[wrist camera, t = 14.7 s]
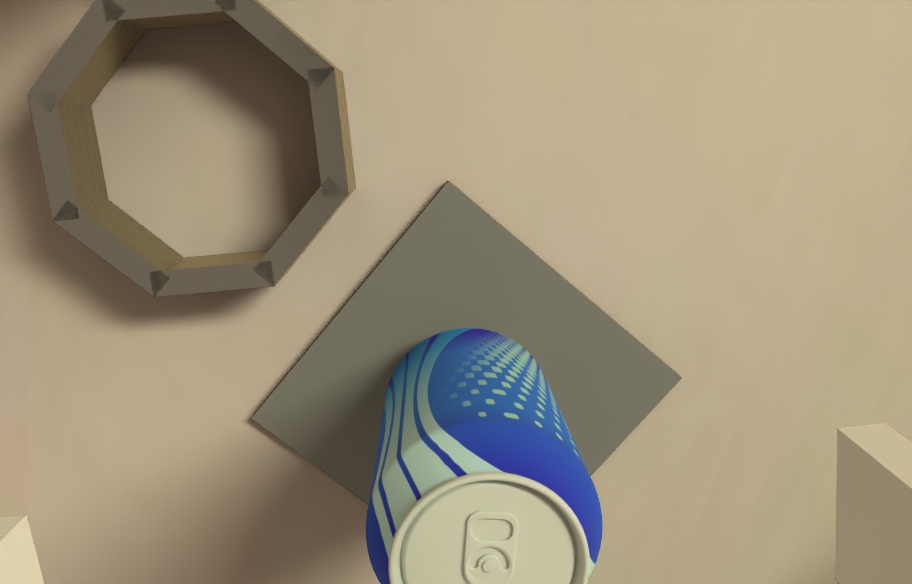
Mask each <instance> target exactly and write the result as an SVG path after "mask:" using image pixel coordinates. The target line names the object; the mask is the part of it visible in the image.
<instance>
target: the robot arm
mask: <svg viewBox="0 0 912 584" xmlns="http://www.w3.org/2000/svg"><path fill="white" fill-rule="evenodd" d="M836 580H837V581H838V582H839V584H912V442H910V441H909V440H907V439H906V438H905V437H903V436H902V435H900V434H899V433H898V432H896V431H895V430H893V429H892V428H891V427H889V426H888V425H887V424H885V423H882V424H872V425H863V426H854V427H845V428H837V499H836ZM0 584H44V582H43V578H42V574H41V570H40V566H39V563H38V559H37V555H36V551H35V547H34V543H33V539H32V536H31V532H30V528H29V524H28V520H27V516H26V515H25V516H16V517H6V518H0Z"/></svg>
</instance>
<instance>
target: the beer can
mask: <svg viewBox="0 0 912 584" xmlns="http://www.w3.org/2000/svg"><path fill="white" fill-rule="evenodd" d="M601 539H602V514H601V507H600V503H599V499H598V495H597V492H596V489H595V487H594V484H593V482H592V479H591V477H590V475H589V473H588V471H587V468H586V466H585V464H584V462H583V460H582V457H581V455H580V453H579V451H578V449H577V446H576V444H575V442H574V440H573V438H572V435H571V433H570V431H569V429H568V426H567V424H566V422H565V420H564V418H563V415H562V413H561V411H560V409H559V407H558V404H557V402H556V400H555V398H554V396H553V393H552V391H551V389H550V387H549V385H548V382H547V380H546V378H545V376H544V374H543V372H542V370H541V368H540V366H539V365H538V363H537V362H536V360H535V359H534V358H533V357H532V355H531V354H530V353H529V352H528V351H527V350H526V349H525V348H523V347H522V346H521V345H520V344H518V343H517V342H515V341H514V340H512V339H510V338H508V337H507V336H505V335H502V334H500V333H497V332H494V331H491V330H486V329H480V328H457V329H451V330H447V331H443V332H440V333H438V334H435V335H433V336H431V337H429V338H427V339H425V340H423V341H422V342H420V343H419V344H417V345H416V346H415V347H414V348H412V349H411V350H410V351H409V352H408V353H407V354H406V355H405V356H404V358H403V359H402V360H401V361H400V363H399V364H398V365H397V367H396V369H395V370H394V372H393V374H392V376H391V379H390V381H389V384H388V387H387V391H386V396H385V402H384V409H383V415H382V421H381V428H380V434H379V441H378V447H377V453H376V460H375V466H374V473H373V479H372V485H371V492H370V498H369V505H368V511H367V519H366V540H367V549H368V553H369V558H370V561H371V564H372V567H373V570H374V572H375V574H376V576H377V578H378V580H379V582H380V583H381V584H587V581H588V579H589V577H590V575H591V573H592V571H593V568H594V566H595V563H596V561H597V557H598V554H599V550H600V545H601Z"/></svg>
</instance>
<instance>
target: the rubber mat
mask: <svg viewBox="0 0 912 584" xmlns="http://www.w3.org/2000/svg"><path fill="white" fill-rule="evenodd" d="M457 328H480V329H486V330H491V331H494V332H497V333H500V334H502V335H505V336H507V337H508V338H510V339H512V340H514V341H515V342H517V343H518V344H520V345H521V346H522V347H523V348H525V349H526V350H527V351H528V352H529V353H530V354H531V355H532V357H533V358H534V359H535V360H536V362H537V363H538V365H539V366H540V368H541V370H542V372H543V374H544V376H545V378H546V380H547V382H548V385H549V387H550V389H551V391H552V393H553V396H554V398H555V400H556V402H557V404H558V407H559V409H560V411H561V413H562V415H563V418H564V420H565V422H566V424H567V426H568V429H569V431H570V433H571V435H572V438H573V440H574V442H575V444H576V446H577V449H578V451H579V453H580V455H581V457H582V460H583V462H584V464H585V466H586V468H587V471H588V473H589V475H590V476H591V475H592V474H593V473H594V472H595V471H596V470H597V469H598V468H599V467H600V466H601V465H602V464H603V462H604V461H605V460H606V459H607V458H608V457H609V456H610V455H611V454H612V453H613V452H614V451H615V450H616V448H617V447H618V446H619V445H620V444H621V443H622V442H623V441H624V440H625V439H626V438H627V437H628V436H629V434H630V433H631V432H632V431H633V430H634V429H635V428H636V427H637V426H638V425H639V424H640V423H641V422H642V420H643V419H644V418H645V417H646V416H647V415H648V414H649V413H650V412H651V411H652V410H653V409H654V408H655V406H656V405H657V404H658V403H659V402H660V401H661V400H662V399H663V398H664V397H665V396H666V395H667V394H668V392H669V391H670V390H671V389H672V388H673V387H674V386H675V385H676V384H677V383H678V382H679V381H680V380H681V377H680V376H679V375H678V374H677V373H676V372H675V371H674V370H672V369H671V368H670V367H669V366H668V365H666V364H665V363H664V362H663V361H662V360H661V359H659V358H658V357H657V356H656V355H655V354H653V353H652V352H651V351H650V350H649V349H648V348H646V347H645V346H644V345H643V344H642V343H640V342H639V341H638V340H637V339H636V338H634V337H633V336H632V335H631V334H630V333H629V332H627V331H626V330H625V329H624V328H623V327H621V326H620V325H619V324H618V323H617V322H615V321H614V320H613V319H612V318H611V317H610V316H608V315H607V314H606V313H605V312H604V311H602V310H601V309H600V308H599V307H598V306H597V305H595V304H594V303H593V302H592V301H591V300H589V299H588V298H587V297H586V296H585V295H583V294H582V293H581V292H580V291H579V290H578V289H576V288H575V287H574V286H573V285H572V284H570V283H569V282H568V281H567V280H566V279H564V278H563V277H562V276H561V275H560V274H559V273H557V272H556V271H555V270H554V269H553V268H551V267H550V266H549V265H548V264H547V263H546V262H544V261H543V260H542V259H541V258H540V257H538V256H537V255H536V254H535V253H534V252H532V251H531V250H530V249H529V248H528V247H527V246H525V245H524V244H523V243H522V242H521V241H519V240H518V239H517V238H516V237H515V236H514V235H512V234H511V233H510V232H509V231H508V230H506V229H505V228H504V227H503V226H502V225H500V224H499V223H498V222H497V221H496V220H495V219H493V218H492V217H491V216H490V215H489V214H487V213H486V212H485V211H484V210H483V209H481V208H480V207H479V206H478V205H477V204H476V203H474V202H473V201H472V200H471V199H470V198H468V197H467V196H466V195H465V194H464V193H463V192H461V191H460V190H459V189H458V188H457V187H455V186H454V185H453V184H452V183H451V182H449V181H447V182H446V184H445V185H444V186H443V187H442V189H441V190H440V191H439V192H438V193H437V195H436V196H435V197H434V198H433V199H432V201H431V202H430V203H429V204H428V205H427V207H426V208H425V209H424V210H423V211H422V213H421V214H420V215H419V216H418V217H417V219H416V220H415V221H414V222H413V223H412V225H411V226H410V227H409V228H408V229H407V231H406V232H405V233H404V234H403V235H402V237H401V238H400V239H399V240H398V241H397V243H396V244H395V245H394V246H393V247H392V249H391V250H390V251H389V252H388V253H387V255H386V256H385V257H384V258H383V260H382V261H381V262H380V263H379V264H378V266H377V267H376V268H375V269H374V270H373V272H372V273H371V274H370V275H369V276H368V278H367V279H366V280H365V281H364V282H363V284H362V285H361V286H360V287H359V288H358V290H357V291H356V292H355V293H354V294H353V296H352V297H351V298H350V299H349V300H348V302H347V303H346V304H345V305H344V306H343V308H342V309H341V310H340V311H339V312H338V314H337V315H336V316H335V317H334V318H333V320H332V321H331V322H330V323H329V324H328V326H327V327H326V328H325V329H324V331H323V332H322V333H321V334H320V335H319V337H318V338H317V339H316V340H315V341H314V343H313V344H312V345H311V346H310V347H309V349H308V350H307V351H306V352H305V353H304V355H303V356H302V357H301V358H300V359H299V361H298V362H297V363H296V364H295V365H294V367H293V368H292V369H291V370H290V371H289V373H288V374H287V375H286V376H285V377H284V379H283V380H282V381H281V382H280V383H279V385H278V386H277V387H276V388H275V389H274V391H273V392H272V393H271V394H270V395H269V397H268V398H267V399H266V400H265V402H264V403H263V404H262V405H261V406H260V408H259V409H258V410H257V411H256V412H255V414H254V415H253V416H252V418H251V419H253V420H254V421H256V422H257V423H258V424H260V425H261V426H262V427H264V428H265V429H266V430H268V431H269V432H270V433H272V434H273V435H274V436H276V437H277V438H279V439H280V440H281V441H283V442H284V443H285V444H287V445H288V446H289V447H291V448H292V449H293V450H295V451H296V452H297V453H299V454H300V455H302V456H303V457H304V458H306V459H307V460H308V461H310V462H311V463H312V464H314V465H315V466H316V467H318V468H319V469H320V470H322V471H323V472H324V473H326V474H327V475H329V476H330V477H331V478H333V479H334V480H335V481H337V482H338V483H339V484H341V485H342V486H343V487H345V488H346V489H347V490H349V491H350V492H352V493H353V494H354V495H356V496H357V497H358V498H360V499H361V500H362V501H364V502H365V503H366V504H368V505H369V498H370V492H371V485H372V479H373V473H374V466H375V460H376V453H377V447H378V441H379V434H380V428H381V421H382V415H383V409H384V402H385V396H386V391H387V387H388V384H389V381H390V379H391V376H392V374H393V372H394V370H395V369H396V367H397V365H398V364H399V363H400V361H401V360H402V359H403V358H404V356H405V355H406V354H407V353H408V352H409V351H410V350H411V349H412V348H414V347H415V346H416V345H417V344H419V343H420V342H422V341H423V340H425V339H427V338H429V337H431V336H433V335H435V334H438V333H440V332H443V331H447V330H451V329H457Z"/></svg>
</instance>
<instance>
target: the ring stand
mask: <svg viewBox="0 0 912 584" xmlns="http://www.w3.org/2000/svg"><path fill="white" fill-rule="evenodd" d="M226 22H238V23H239V24H240V25H241V26H242V27H244V28H245V29H246V30H247V31H248V32H250V33H251V34H252V35H253V36H254V37H256V38H257V39H258V40H259V41H260V42H261V43H263V44H264V45H265V46H266V47H267V48H269V49H270V50H271V51H272V52H273V53H275V54H276V55H277V56H278V57H279V58H281V59H282V60H283V61H284V62H285V63H287V64H288V65H289V66H290V67H291V68H293V69H294V70H295V71H296V72H297V73H298V74H300V75H301V76H302V77H303V78H304V79H306V80H307V81H308V84H309V92H310V100H311V108H312V116H313V124H314V133H315V141H316V149H317V157H318V165H319V173H320V181H321V186H320V187H319V189H318V190H317V191H316V192H315V194H314V195H313V196H312V197H311V199H310V200H309V201H308V202H307V204H306V205H305V206H304V207H303V209H302V210H301V211H300V212H299V214H298V215H297V216H296V217H295V219H294V220H293V221H292V222H291V224H290V225H289V226H288V227H287V229H286V230H285V231H284V232H283V234H282V235H281V236H280V237H279V239H278V240H277V241H276V242H275V243H274V245H273V246H272V247H271V248H270V250H264V251H253V252H242V253H231V254H220V255H209V256H198V257H187V258H183V257H182V256H181V255H180V254H178V253H177V252H176V251H174V250H173V249H172V248H170V247H169V246H168V245H166V244H165V243H164V242H163V241H161V240H160V239H159V238H157V237H156V236H155V235H153V234H152V233H151V232H150V231H148V230H147V229H146V228H144V227H143V226H142V225H140V224H139V223H138V222H137V221H135V220H134V219H133V218H131V217H130V216H129V215H127V214H126V213H125V212H124V211H122V210H121V209H120V208H118V207H117V206H116V205H114V204H113V203H112V202H110V201H109V200H108V197H107V191H106V186H105V180H104V175H103V169H102V164H101V158H100V153H99V147H98V142H97V136H96V131H95V125H94V120H93V114H92V109H91V104H92V103H93V102H94V100H95V99H96V97H97V96H98V95H99V93H100V92H101V91H102V89H103V88H104V87H105V85H106V84H107V82H108V81H109V80H110V78H111V77H112V76H113V74H114V73H115V72H116V70H117V69H118V67H119V66H120V65H121V63H122V62H123V61H124V59H125V58H126V57H127V55H128V54H129V52H130V51H131V50H132V48H133V47H134V46H135V44H136V43H137V42H138V40H139V39H140V38H141V36H142V35H143V33H144V32H145V31H146V29H157V28H168V27H180V26H192V25H203V24H215V23H226ZM27 95H28V99H29V104H30V109H31V114H32V119H33V124H34V130H35V135H36V140H37V145H38V150H39V155H40V160H41V165H42V170H43V175H44V180H45V185H46V190H47V195H48V200H49V205H50V210H51V215H52V221H54V222H55V223H56V224H58V225H59V226H60V227H62V228H63V229H64V230H66V231H67V232H68V233H70V234H71V235H72V236H74V237H75V238H76V239H78V240H79V241H80V242H82V243H83V244H84V245H86V246H87V247H88V248H90V249H91V250H92V251H94V252H95V253H96V254H98V255H99V256H100V257H102V258H103V259H104V260H106V261H107V262H108V263H110V264H111V265H112V266H113V267H115V268H116V269H117V270H119V271H120V272H121V273H123V274H124V275H125V276H127V277H128V278H129V279H131V280H132V281H133V282H135V283H136V284H137V285H139V286H140V287H141V288H143V289H144V290H145V291H147V292H148V293H149V294H151V295H152V296H153V297H162V296H173V295H184V294H194V293H205V292H216V291H227V290H238V289H249V288H260V287H271V286H275V285H276V284H277V283H278V282H279V281H280V280H281V279H282V278H283V277H284V276H285V274H286V273H287V272H288V271H289V269H290V268H291V267H292V266H293V264H294V263H295V262H296V261H297V259H298V258H299V257H300V256H301V255H302V253H303V252H304V251H305V250H306V248H307V247H308V246H309V245H310V243H311V242H312V241H313V240H314V238H315V237H316V236H317V235H318V234H319V232H320V231H321V230H322V229H323V227H324V226H325V225H326V224H327V222H328V221H329V220H330V219H331V218H332V216H333V215H334V214H335V213H336V211H337V210H338V209H339V208H340V206H341V205H342V204H343V203H344V201H345V200H346V199H347V198H348V197H349V195H350V194H351V193H352V192H353V190H354V189H355V188H356V186H355V177H354V168H353V159H352V150H351V142H350V133H349V124H348V115H347V106H346V98H345V89H344V80H343V72H342V71H340V70H339V69H338V68H337V67H336V66H335V65H333V64H332V63H331V62H330V61H329V60H328V59H326V58H325V57H324V56H323V55H322V54H320V53H319V52H318V51H317V50H316V49H315V48H313V47H312V46H311V45H310V44H309V43H307V42H306V41H305V40H304V39H303V38H302V37H300V36H299V35H298V34H297V33H296V32H295V31H293V30H292V29H291V28H290V27H289V26H287V25H286V24H285V23H284V22H283V21H282V20H280V19H279V18H278V17H277V16H276V15H274V14H273V13H272V12H271V11H270V10H269V9H267V8H266V7H265V6H264V5H263V4H261V3H260V2H259V1H258V0H95V1H94V3H93V4H92V5H91V7H90V8H89V9H88V11H87V12H86V14H85V15H84V16H83V18H82V19H81V21H80V22H79V23H78V25H77V26H76V28H75V29H74V30H73V32H72V33H71V35H70V36H69V37H68V39H67V40H66V42H65V43H64V44H63V46H62V47H61V48H60V50H59V51H58V53H57V54H56V55H55V57H54V58H53V60H52V61H51V62H50V64H49V65H48V67H47V68H46V69H45V71H44V72H43V74H42V75H41V76H40V78H39V79H38V81H37V82H36V83H35V85H34V86H33V87H32V89H31V90H30V92H29V93H28V94H27Z"/></svg>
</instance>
